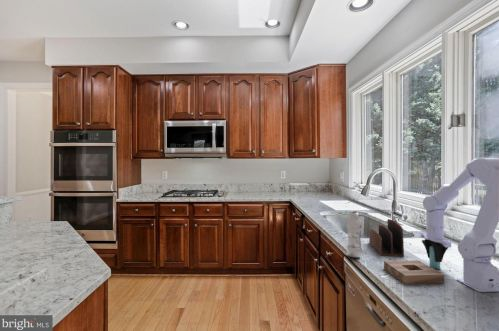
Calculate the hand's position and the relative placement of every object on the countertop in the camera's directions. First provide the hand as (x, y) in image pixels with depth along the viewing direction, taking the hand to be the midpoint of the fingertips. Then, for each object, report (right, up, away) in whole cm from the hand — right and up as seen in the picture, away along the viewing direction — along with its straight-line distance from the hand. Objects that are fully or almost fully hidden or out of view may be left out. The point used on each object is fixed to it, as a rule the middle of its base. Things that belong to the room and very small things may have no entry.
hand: (434, 259), depth 111 cm
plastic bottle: (-28, -3, +13) cm, 31 cm away
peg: (0, -3, 0) cm, 3 cm away
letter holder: (-9, -3, +23) cm, 25 cm away
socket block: (-14, -3, -8) cm, 16 cm away
